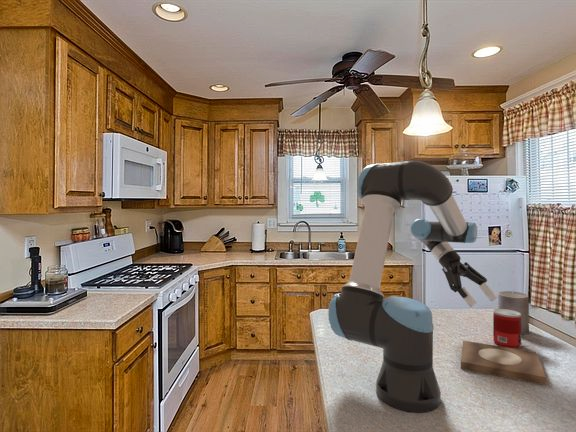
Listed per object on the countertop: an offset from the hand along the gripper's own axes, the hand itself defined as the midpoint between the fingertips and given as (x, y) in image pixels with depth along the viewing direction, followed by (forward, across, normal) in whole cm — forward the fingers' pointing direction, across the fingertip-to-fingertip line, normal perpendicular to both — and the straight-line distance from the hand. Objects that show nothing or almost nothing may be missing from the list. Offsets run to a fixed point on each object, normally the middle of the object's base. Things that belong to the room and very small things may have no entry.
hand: (484, 302), depth 124 cm
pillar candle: (+11, -16, -7) cm, 20 cm away
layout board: (+19, +18, +2) cm, 26 cm away
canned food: (+15, +1, -3) cm, 15 cm away
